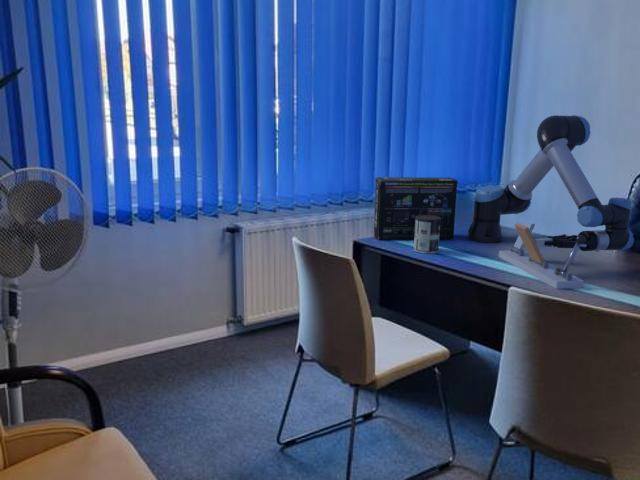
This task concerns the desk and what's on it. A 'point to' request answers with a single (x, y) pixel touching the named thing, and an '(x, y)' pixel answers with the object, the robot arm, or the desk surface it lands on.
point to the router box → (413, 205)
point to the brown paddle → (530, 244)
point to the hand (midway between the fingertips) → (535, 242)
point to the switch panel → (541, 270)
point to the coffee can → (427, 234)
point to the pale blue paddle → (519, 243)
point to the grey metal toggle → (571, 256)
